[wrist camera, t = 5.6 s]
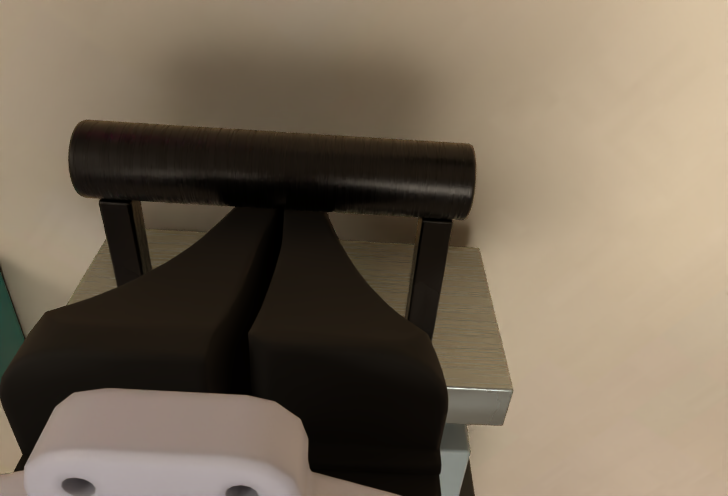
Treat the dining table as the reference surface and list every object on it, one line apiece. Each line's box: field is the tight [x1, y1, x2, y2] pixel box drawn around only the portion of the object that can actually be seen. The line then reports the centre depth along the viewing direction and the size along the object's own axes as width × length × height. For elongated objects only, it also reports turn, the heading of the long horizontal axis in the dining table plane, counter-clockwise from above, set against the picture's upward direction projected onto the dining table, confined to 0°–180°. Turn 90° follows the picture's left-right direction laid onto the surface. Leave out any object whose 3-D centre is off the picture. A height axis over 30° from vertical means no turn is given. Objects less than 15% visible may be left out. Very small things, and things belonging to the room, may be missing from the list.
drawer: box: [66, 120, 513, 496], centre depth 17 cm, size 17×10×5 cm, turn 176°
